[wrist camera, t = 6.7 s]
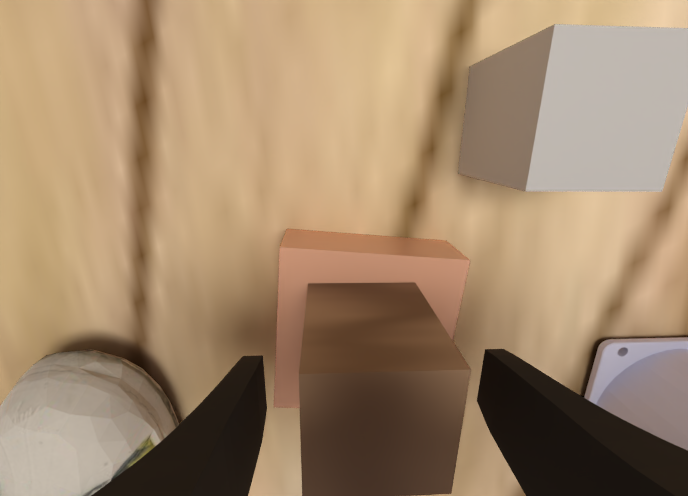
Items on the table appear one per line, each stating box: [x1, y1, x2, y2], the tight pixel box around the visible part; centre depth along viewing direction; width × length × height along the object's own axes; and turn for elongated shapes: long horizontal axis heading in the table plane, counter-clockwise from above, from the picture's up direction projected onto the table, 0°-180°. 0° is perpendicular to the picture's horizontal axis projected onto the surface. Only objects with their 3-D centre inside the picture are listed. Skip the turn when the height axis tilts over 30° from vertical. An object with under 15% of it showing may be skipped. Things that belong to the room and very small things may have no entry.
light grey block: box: [458, 24, 688, 192], centre depth 11 cm, size 4×4×5 cm
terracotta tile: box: [274, 229, 470, 408], centre depth 15 cm, size 7×7×3 cm
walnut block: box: [299, 282, 471, 496], centre depth 11 cm, size 4×4×5 cm
